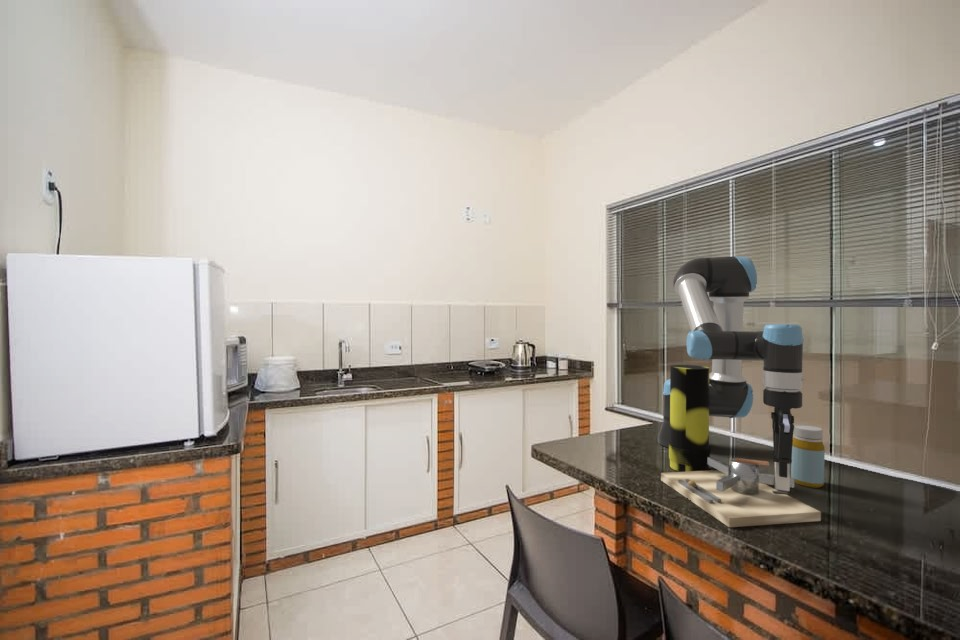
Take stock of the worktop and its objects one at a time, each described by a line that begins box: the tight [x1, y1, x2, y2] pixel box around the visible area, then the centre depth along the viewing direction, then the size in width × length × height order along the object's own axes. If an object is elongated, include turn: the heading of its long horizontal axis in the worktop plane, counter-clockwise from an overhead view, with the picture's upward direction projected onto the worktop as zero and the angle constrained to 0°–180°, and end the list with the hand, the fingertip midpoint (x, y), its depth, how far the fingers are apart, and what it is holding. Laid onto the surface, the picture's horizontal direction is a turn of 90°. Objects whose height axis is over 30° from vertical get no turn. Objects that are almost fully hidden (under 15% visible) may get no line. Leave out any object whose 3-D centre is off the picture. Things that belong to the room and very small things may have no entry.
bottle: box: [790, 424, 826, 489], centre depth 113 cm, size 7×7×15 cm
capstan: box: [707, 456, 795, 495], centre depth 103 cm, size 17×20×7 cm
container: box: [668, 364, 711, 472], centre depth 124 cm, size 11×11×30 cm
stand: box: [660, 469, 822, 528], centre depth 104 cm, size 26×23×4 cm
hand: (782, 489), depth 100 cm, fingers closed
